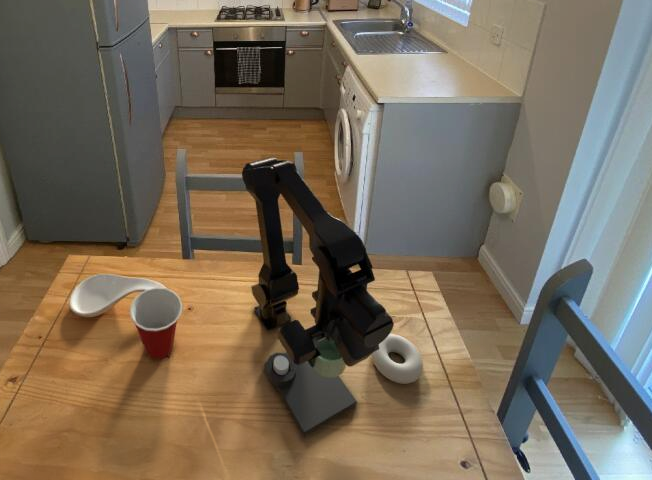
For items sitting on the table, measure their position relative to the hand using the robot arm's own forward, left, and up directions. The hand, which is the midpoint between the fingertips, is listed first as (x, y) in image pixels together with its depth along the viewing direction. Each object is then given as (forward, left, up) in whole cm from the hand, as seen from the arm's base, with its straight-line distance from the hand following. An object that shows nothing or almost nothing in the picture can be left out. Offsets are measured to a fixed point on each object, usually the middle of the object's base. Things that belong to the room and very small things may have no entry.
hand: (326, 357), depth 78 cm
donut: (+2, +17, -10) cm, 20 cm away
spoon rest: (-38, -31, -10) cm, 50 cm away
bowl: (0, 0, -1) cm, 1 cm away
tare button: (-6, -6, -8) cm, 12 cm away
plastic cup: (-23, -26, -10) cm, 36 cm away
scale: (-2, -2, -10) cm, 11 cm away
